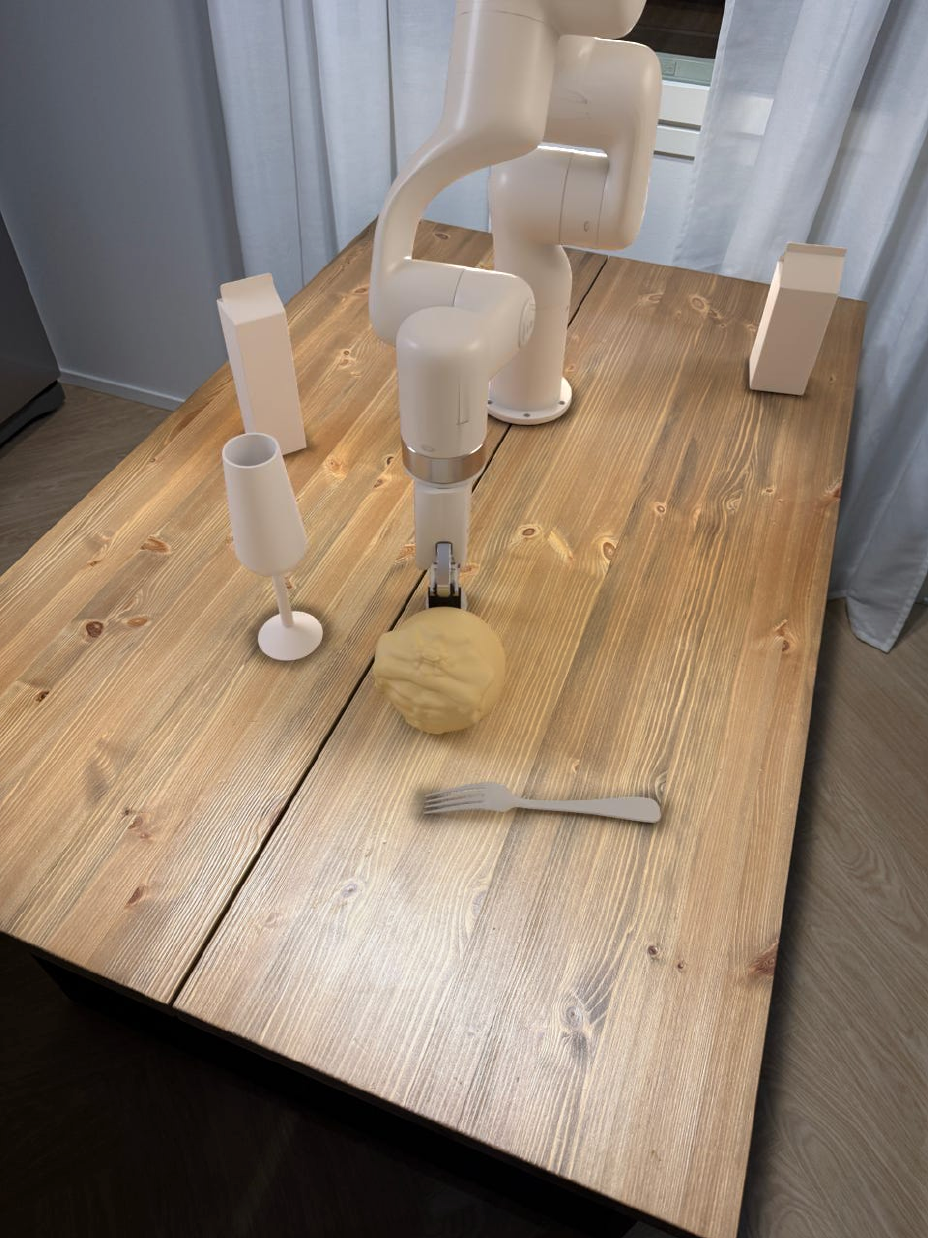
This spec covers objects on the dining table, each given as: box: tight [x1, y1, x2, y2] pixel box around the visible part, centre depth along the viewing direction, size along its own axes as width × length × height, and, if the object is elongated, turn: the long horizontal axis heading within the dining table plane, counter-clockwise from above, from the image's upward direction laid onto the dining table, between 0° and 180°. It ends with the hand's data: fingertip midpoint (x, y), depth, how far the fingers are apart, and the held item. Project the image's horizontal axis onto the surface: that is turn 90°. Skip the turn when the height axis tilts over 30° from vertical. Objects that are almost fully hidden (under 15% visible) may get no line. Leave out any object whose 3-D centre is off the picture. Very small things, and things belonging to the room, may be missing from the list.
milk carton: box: [749, 241, 848, 396], centre depth 116 cm, size 7×7×19 cm
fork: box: [423, 781, 662, 824], centre depth 79 cm, size 3×21×3 cm, turn 88°
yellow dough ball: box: [372, 607, 507, 736], centre depth 83 cm, size 11×12×11 cm
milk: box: [216, 272, 307, 456], centre depth 105 cm, size 6×6×22 cm
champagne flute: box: [221, 433, 324, 661], centre depth 83 cm, size 7×7×24 cm
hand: (445, 580), depth 92 cm, fingers open, 9 cm apart
